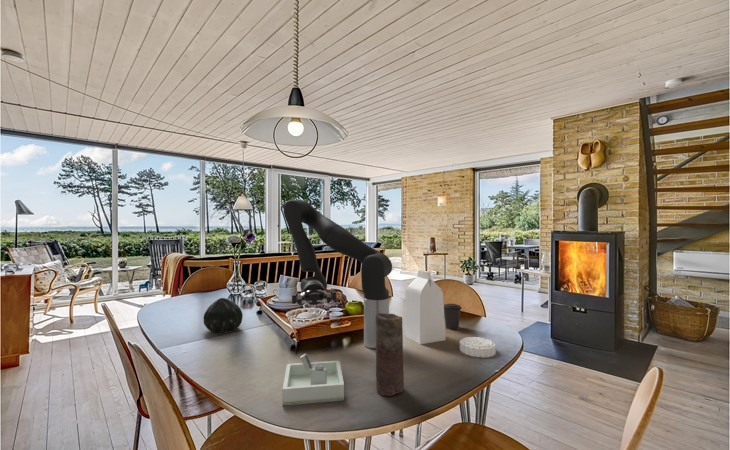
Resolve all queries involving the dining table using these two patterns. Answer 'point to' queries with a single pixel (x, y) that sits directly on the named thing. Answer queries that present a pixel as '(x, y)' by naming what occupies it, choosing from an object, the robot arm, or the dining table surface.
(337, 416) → the dining table surface
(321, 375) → the lighter
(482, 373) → the dining table surface
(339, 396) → the bin
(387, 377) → the candle
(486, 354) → the mooncake
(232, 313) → the squash
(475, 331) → the dining table surface
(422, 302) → the milk
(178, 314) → the dining table surface
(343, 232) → the robot arm
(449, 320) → the coffee cup
